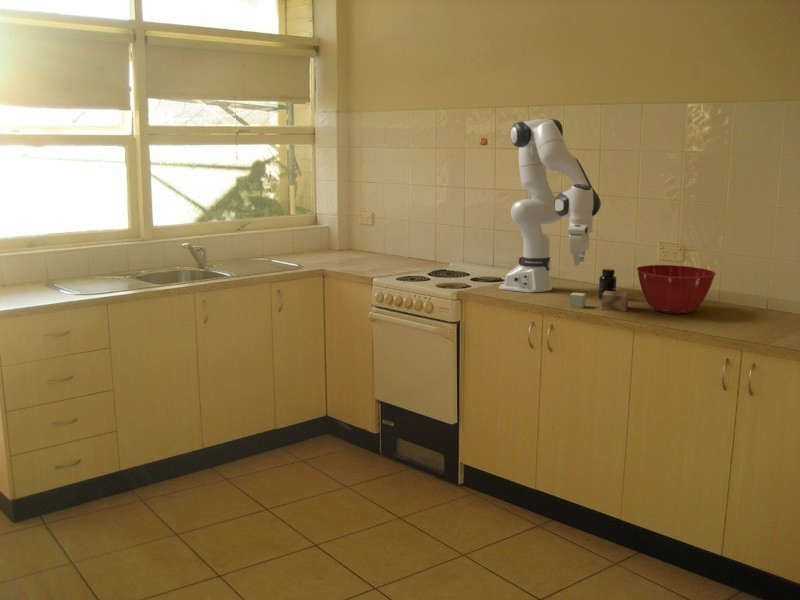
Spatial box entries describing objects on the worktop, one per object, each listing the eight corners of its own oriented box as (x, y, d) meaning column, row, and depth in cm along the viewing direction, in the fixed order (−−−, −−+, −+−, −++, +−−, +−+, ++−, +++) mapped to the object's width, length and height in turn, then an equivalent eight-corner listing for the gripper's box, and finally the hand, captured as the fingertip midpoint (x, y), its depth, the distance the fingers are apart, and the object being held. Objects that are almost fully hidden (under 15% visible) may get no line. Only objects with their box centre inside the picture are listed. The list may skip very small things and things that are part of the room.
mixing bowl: (712, 305, 321) (715, 266, 318) (713, 320, 294) (716, 278, 291) (637, 301, 330) (639, 262, 327) (631, 315, 304) (634, 273, 301)
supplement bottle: (616, 300, 331) (617, 271, 329) (598, 299, 333) (599, 270, 330) (615, 297, 338) (616, 268, 336) (598, 296, 339) (599, 267, 337)
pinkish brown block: (601, 310, 313) (602, 294, 312) (604, 305, 321) (604, 290, 320) (625, 312, 310) (626, 296, 309) (627, 307, 318) (628, 292, 317)
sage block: (569, 307, 318) (569, 294, 317) (572, 305, 323) (572, 292, 322) (582, 308, 316) (582, 295, 315) (584, 306, 321) (585, 293, 320)
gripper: (577, 224, 324) (576, 259, 327) (566, 229, 305) (565, 266, 308) (593, 225, 322) (592, 260, 324) (583, 230, 303) (582, 267, 306)
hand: (579, 263), depth 316 cm, fingers open, 8 cm apart
